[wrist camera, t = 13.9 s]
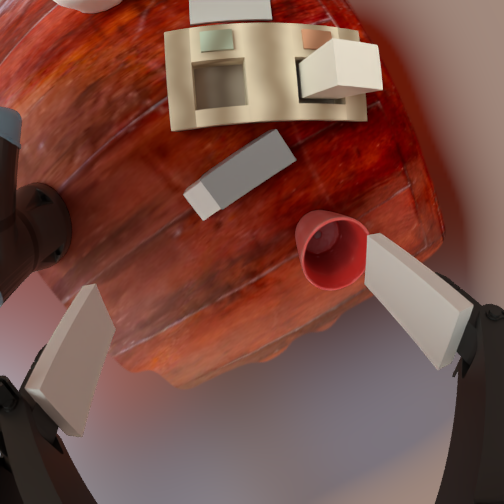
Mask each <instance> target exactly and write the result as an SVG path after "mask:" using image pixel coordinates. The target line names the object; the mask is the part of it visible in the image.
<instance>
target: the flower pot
mask: <svg viewBox="0 0 504 504" xmlns="http://www.w3.org/2000/svg"><path fill="white" fill-rule="evenodd" d="M367 235H370V234H369V232H368V230H367V229H366V227H365V226H364V225H363V224H362V223H361V222H359V221H357V220H356V219H353V218H351V217H348V216H345V215H342V214H338V213H335V212H330V211H325V210H314V211H311V212H309V213H307V214H306V215H304V216H303V217H302V218H301V219H300V221H299V222H298V224H297V227H296V230H295V239H296V244H297V249H298V254H299V259H300V263H301V267H302V270H303V273H304V275H305V277H306V278H307V279H308V281H309V282H310V283H311V284H313V285H314V286H315V287H317V288H319V289H322V290H329V291H331V290H339V289H342V288H345V287H347V286H349V285H351V284H352V283H354V282H355V281H356V280H357V279H358V278H359V277H360V276H361V275H362V274H363V273H364V272H365V270H366V252H367Z"/></svg>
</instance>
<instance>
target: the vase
mask: <svg viewBox="0 0 504 504" xmlns="http://www.w3.org/2000/svg"><path fill="white" fill-rule="evenodd" d="M53 1H55V2H56V3H57V4H59V5H61V6H63V7H67V8H72V9H76V10H79V11H81V12H82V13H89V14H95V13H99V12H103V11H107V10H108V9H110V8H112V7H114V6H116V5H118V4H119V3H121V2H122V1H123V0H53Z"/></svg>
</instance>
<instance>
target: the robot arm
mask: <svg viewBox="0 0 504 504" xmlns="http://www.w3.org/2000/svg"><path fill="white" fill-rule="evenodd" d="M21 126H22V119H21V116H20V114H19V113H18V112H17V111H15V110H13V109H10V108H6V107H0V307H1V306H2V304H3V303H4V302H5V301H6V300H7V299H8V298H9V296H10V295H11V294H12V293H13V292H14V291H15V290H16V289H17V288H18V286H20V284H21V283H22V282H23V281H24V280H25V279H26V278H27V277H28V276H29V275H30V274H31V273H32V272H35V271H38V270H42V269H45V268H49V267H51V266H53V265H54V264H56V263H57V262H58V261H59V260H60V259H61V258H62V257H63V256H64V255H65V254H66V252H67V250H68V248H69V245H70V242H71V236H72V226H71V220H70V215H69V212H68V210H67V207H66V205H65V203H64V202H63V200H62V198H61V197H60V196H59V195H58V193H57V192H56V191H54V190H53V189H52V188H51V187H49V186H47V185H45V184H41V183H31V184H28V185H25V186H23V187H21V188H19V189H18V190H16V186H17V169H18V158H19V149H21V144H20V135H21ZM364 284H365V285H366V286H367V287H368V289H369V290H370V291H371V292H372V293H373V294H374V295H375V296H376V297H377V299H378V300H379V301H380V302H381V303H382V304H383V305H384V306H385V308H386V309H387V310H388V311H389V312H390V313H391V314H392V316H393V317H394V318H395V319H396V320H397V322H398V323H399V324H400V325H401V326H402V327H403V328H404V330H405V331H406V332H407V333H408V334H409V336H410V337H411V338H412V339H413V340H414V342H416V344H417V345H418V346H419V348H420V349H421V350H422V351H423V353H424V354H425V355H426V356H427V357H428V359H429V360H430V361H431V362H432V364H433V365H434V366H435V368H436V369H437V370H439V369H441V368H443V367H445V366H447V365H449V364H451V363H452V361H453V359H454V356H455V354H456V352H458V354H459V355H460V356H461V358H460V360H459V362H458V364H457V367H456V369H455V371H454V373H453V377H455V375H456V373H457V372H458V385H457V397H456V407H455V415H454V416H455V417H454V423H453V430H452V436H451V441H450V447H449V452H448V457H447V461H446V466H445V470H444V474H443V478H442V482H441V485H440V489H439V492H438V495H437V498H436V502H435V504H504V310H503V309H502V308H500V307H499V306H497V305H493V304H486V305H483V306H481V305H480V304H479V303H478V302H477V301H476V300H474V299H473V298H472V297H471V296H470V295H468V294H467V293H466V292H465V291H464V290H462V289H460V287H459V286H457V285H456V284H454V282H452V281H451V280H450V279H449V278H447V277H446V276H443V275H441V274H439V273H436V272H435V273H434V272H433V271H431V270H430V269H429V268H428V267H426V266H425V265H424V264H422V263H421V262H420V261H418V260H417V259H416V258H414V257H413V256H412V255H410V254H409V253H408V252H406V251H405V250H404V249H402V248H401V247H399V246H398V245H397V244H395V243H394V242H392V241H391V240H390V239H388V238H387V237H385V236H384V235H382V234H381V233H377V234H372V235H367V252H366V270H365V283H364ZM115 330H116V329H115V327H114V325H113V322H112V320H111V318H110V316H109V314H108V311H107V309H106V307H105V305H104V302H103V300H102V298H101V295H100V293H99V290H98V288H97V286H96V284H91V285H85V286H83V287H82V288H81V290H80V291H79V293H78V294H77V296H76V297H75V299H74V300H73V302H72V304H71V305H70V307H69V308H68V310H67V311H66V313H65V315H64V316H63V318H62V320H61V321H60V323H59V325H58V326H57V328H56V330H55V331H54V333H53V335H52V336H51V338H50V340H49V342H48V344H46V345H45V346H44V347H43V348H42V349H41V350H40V351H39V353H38V355H37V356H36V358H35V360H34V361H35V362H33V364H32V366H31V369H30V370H29V371H28V373H27V375H26V377H25V379H24V381H23V383H22V385H21V388H20V390H19V392H18V390H17V389H16V388H15V387H14V385H13V384H12V383H11V381H10V380H9V379H8V377H6V376H0V453H1V456H0V504H97V502H96V501H95V499H94V498H93V496H92V494H91V493H90V491H89V490H88V488H87V486H86V485H85V483H84V481H83V480H82V478H81V476H80V474H79V473H78V471H77V469H76V467H75V465H74V463H73V461H72V460H71V458H70V456H69V454H68V452H67V450H66V447H65V445H64V443H63V441H62V439H61V438H60V436H59V435H58V434H57V430H58V427H59V428H60V429H61V430H62V431H63V432H64V433H65V434H66V435H68V436H76V437H83V433H84V429H85V425H86V421H87V418H88V414H89V410H90V407H91V403H92V399H93V396H94V393H95V389H96V386H97V383H98V379H99V376H100V373H101V370H102V367H103V364H104V361H105V358H106V355H107V352H108V349H109V346H110V344H111V341H112V338H113V335H114V332H115Z"/></svg>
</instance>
